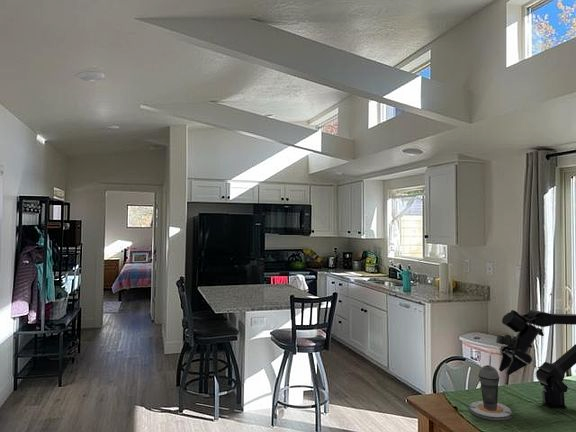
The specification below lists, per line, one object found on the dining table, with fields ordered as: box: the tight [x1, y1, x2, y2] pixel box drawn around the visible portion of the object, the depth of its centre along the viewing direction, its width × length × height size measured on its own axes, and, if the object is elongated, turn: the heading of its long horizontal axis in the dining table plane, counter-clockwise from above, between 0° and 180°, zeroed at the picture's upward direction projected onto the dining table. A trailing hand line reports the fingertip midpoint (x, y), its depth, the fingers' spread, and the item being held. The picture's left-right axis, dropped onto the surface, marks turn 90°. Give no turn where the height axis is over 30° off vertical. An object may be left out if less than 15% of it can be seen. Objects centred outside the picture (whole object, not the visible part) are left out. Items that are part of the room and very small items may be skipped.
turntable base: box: [468, 405, 514, 422], centre depth 159 cm, size 15×15×1 cm
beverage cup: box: [478, 354, 500, 410], centre depth 160 cm, size 7×7×20 cm
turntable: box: [469, 400, 512, 418], centre depth 159 cm, size 14×14×1 cm
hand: (503, 372), depth 164 cm, fingers open, 9 cm apart
